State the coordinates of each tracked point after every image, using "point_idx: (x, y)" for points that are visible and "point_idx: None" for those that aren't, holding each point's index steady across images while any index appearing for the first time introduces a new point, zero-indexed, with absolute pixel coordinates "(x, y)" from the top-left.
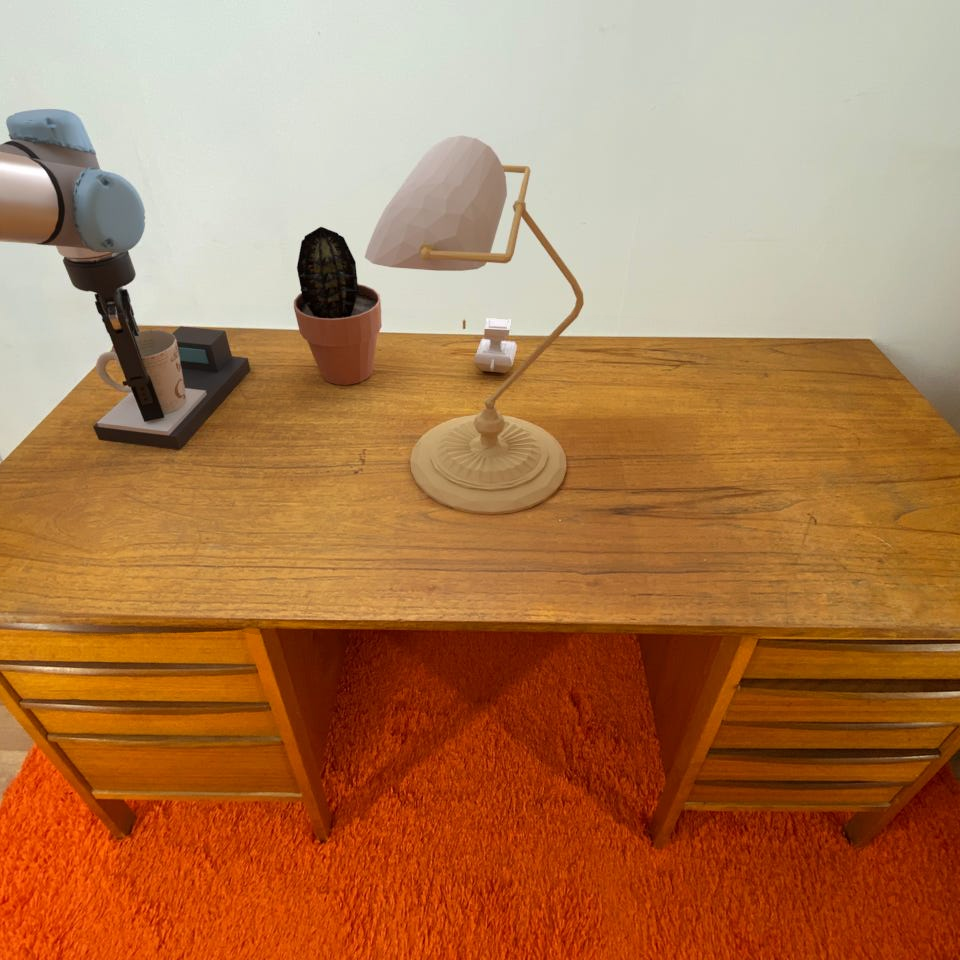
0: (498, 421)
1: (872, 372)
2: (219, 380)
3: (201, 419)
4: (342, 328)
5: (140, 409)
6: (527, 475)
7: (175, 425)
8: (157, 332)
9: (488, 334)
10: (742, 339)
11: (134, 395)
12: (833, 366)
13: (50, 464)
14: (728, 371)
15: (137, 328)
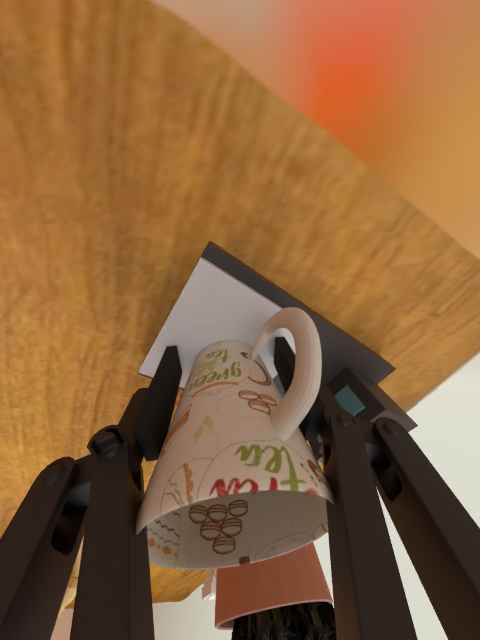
0: None
1: (154, 601)
2: None
3: None
4: (216, 599)
5: (159, 366)
6: None
7: None
8: (310, 529)
9: (209, 585)
10: (200, 584)
11: (147, 394)
12: (163, 596)
13: (140, 132)
14: (170, 581)
15: (379, 492)
